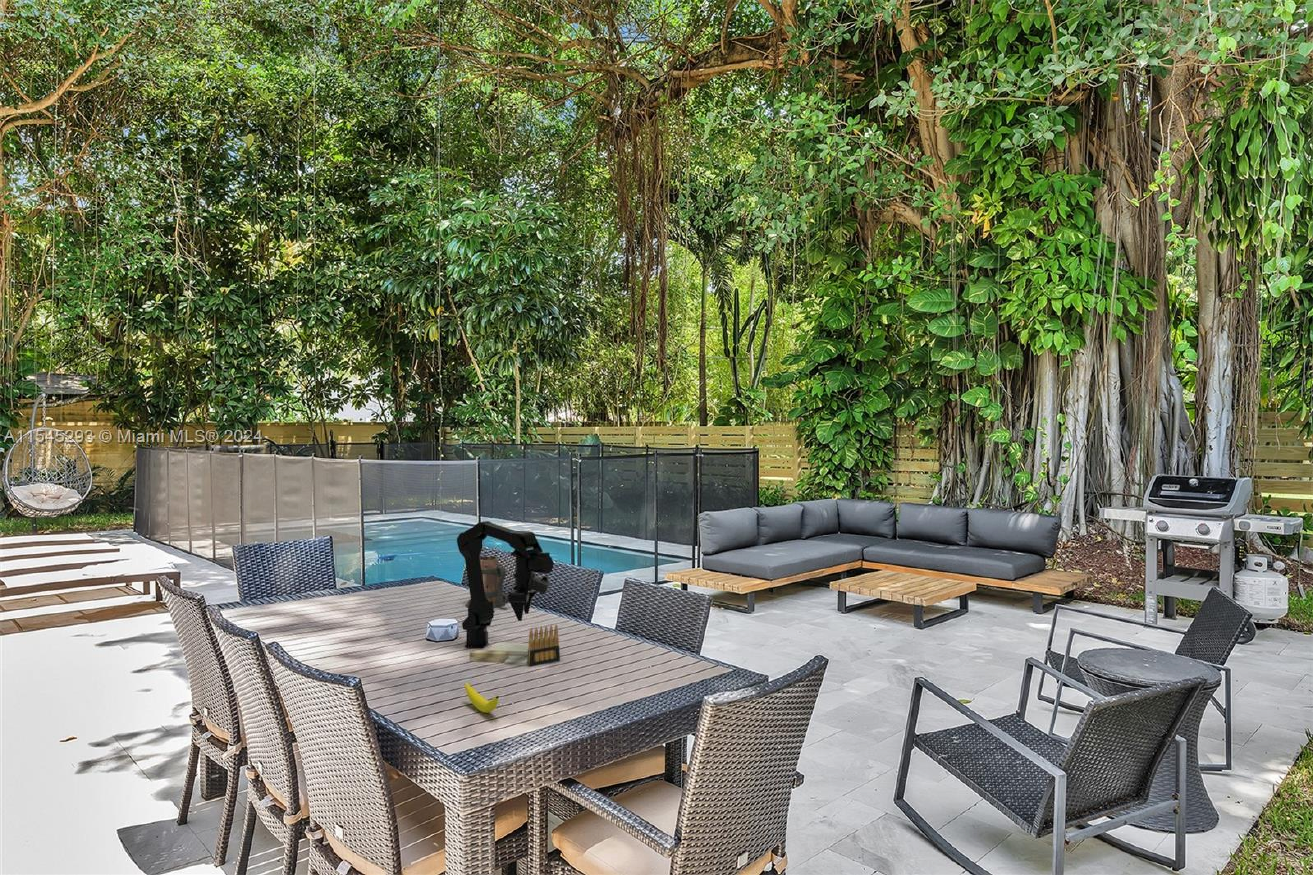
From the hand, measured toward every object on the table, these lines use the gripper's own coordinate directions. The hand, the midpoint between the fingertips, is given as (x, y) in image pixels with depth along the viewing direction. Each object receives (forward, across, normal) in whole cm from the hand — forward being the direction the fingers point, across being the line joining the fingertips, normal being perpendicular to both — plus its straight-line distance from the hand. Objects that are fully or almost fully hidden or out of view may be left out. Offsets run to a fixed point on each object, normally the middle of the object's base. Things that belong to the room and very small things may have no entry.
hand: (523, 617), depth 254 cm
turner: (+13, -7, +6) cm, 16 cm away
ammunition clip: (+13, -7, -9) cm, 17 cm away
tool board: (+13, +5, +1) cm, 14 cm away
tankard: (+14, +68, +31) cm, 76 cm away
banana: (+13, -49, -1) cm, 51 cm away
